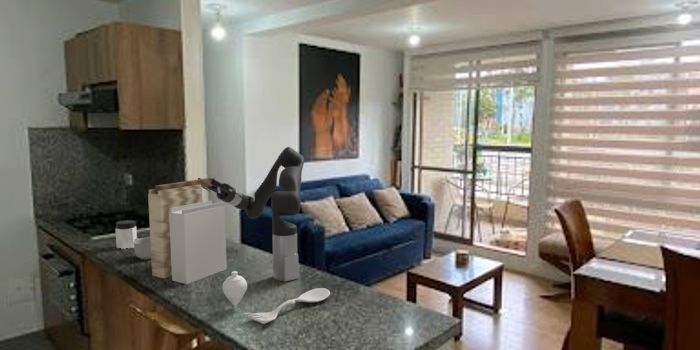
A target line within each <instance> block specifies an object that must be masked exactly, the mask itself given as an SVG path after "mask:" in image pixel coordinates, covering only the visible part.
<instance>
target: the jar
mask: <svg viewBox="0 0 700 350" xmlns="http://www.w3.org/2000/svg"><path fill="white" fill-rule="evenodd" d="M115 224H116V225H115V241H116V243H115V244H116V248H117V249H119V248H121V250H127V249H126V248H128V249H134V244H133V242H134V240H135V239H137V238H138V236H137V235H138V234H137V233H138V232H137V231H138V230H137V225H136V221H135V220H132V219H131V220H130V219H125V220H119V221H116V223H115Z"/></svg>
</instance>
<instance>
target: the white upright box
mask: <svg viewBox="0 0 700 350" xmlns="http://www.w3.org/2000/svg"><path fill="white" fill-rule="evenodd" d="M169 223H170V244H171V266H172V276H171V281H172V282H173V281H174V282H177V283H182V284H184V285H189V284H191V283H194V282H196V281H199V280H202V279H204V278H207V277H210V276H212V275H214V274H218V273H221V272H222V271H223V272H224V271H226V270H227V269H228V265H227V264H228V263H227V238H226V232H227V231H226V207H225V202H224V201H220V202H215V203H213V200H205V201H203V202H199V203H194V204H189V205H184V206H179V207H174V208H169Z"/></svg>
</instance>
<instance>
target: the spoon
mask: <svg viewBox="0 0 700 350" xmlns="http://www.w3.org/2000/svg"><path fill="white" fill-rule="evenodd" d="M330 295H331V292H330V290H329V289H327V288H326V287H325V288H324V287H316V288H313V289H310V290H308V291H305V292H304V293H302V294H300V295H299V296H298V297H297V298H293V299H287V300H286V301H285V302H283V303H280V304H279V306H277V307H276V308H275V309H273V310H272V311H269V312H244V313H243V317H246V318H249V319H250V320H253V321H255V322H257V323H261V324H268V323H270V322H272V321H275V320H276V319H277V317H278V314H279V312H280V311H281V310H282V309H283V308H284V307H287V306H289V305H294V304H296V303H297V302H298V303H299V302H301V303H309V304H310V303H319V302H322V301H324V300H327V298H328V297H330Z"/></svg>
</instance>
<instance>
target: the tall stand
mask: <svg viewBox="0 0 700 350" xmlns="http://www.w3.org/2000/svg"><path fill="white" fill-rule="evenodd" d="M147 197H148V198H147V199H148V214H149V215H148V218H149V237H150V241H151V259H150V260H151V275H152V276H154V277H158V278H161V279H166V278H170V277H172V266H171V244H170V223H169V208H174V207H179V206H184V205H189V204H194V203H199V202H204V201H203V188H202V187H201V185H194V186H187V187H181V188H174V189H168V190H161V191H158V194H155V188H153V189H152V188H151V189H148V195H147Z"/></svg>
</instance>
